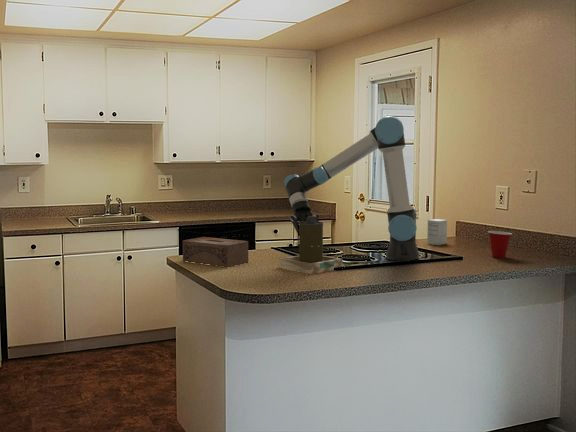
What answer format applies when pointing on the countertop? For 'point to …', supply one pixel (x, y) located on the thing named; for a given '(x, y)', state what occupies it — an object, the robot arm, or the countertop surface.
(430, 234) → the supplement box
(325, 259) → the square tray
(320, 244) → the canister
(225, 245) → the tissue box cover
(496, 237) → the plastic cup
